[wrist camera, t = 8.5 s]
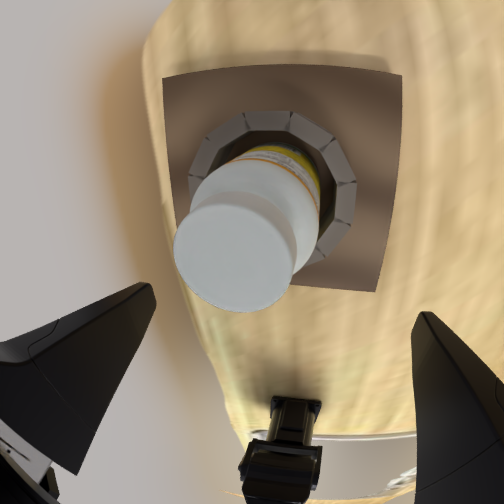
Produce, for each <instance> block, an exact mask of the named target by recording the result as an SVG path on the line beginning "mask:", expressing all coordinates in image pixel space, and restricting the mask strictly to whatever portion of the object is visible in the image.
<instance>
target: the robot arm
mask: <svg viewBox="0 0 504 504" xmlns="http://www.w3.org/2000/svg"><path fill="white" fill-rule="evenodd" d="M155 309H156V299H155V296H154V292H153V288H152V286H151V285H150V284H149V283H144V282H139V283H136V284H134V285H132V286H130V287H127V288H125V289H123V290H121V291H119V292H116V293H114V294H112V295H110V296H107V297H105V298H103V299H101V300H99V301H96V302H94V303H92V304H90V305H88V306H85V307H83V308H81V309H79V310H77V311H75V312H72V313H71V314H68V315H66V316H64V317H62V318H60V319H57V320H55V321H53V322H51V323H49V324H46V325H44V326H42V327H40V328H37V329H35V330H33V331H30V332H27V333H25V334H23V335H20V336H18V337H15V338H12V339H10V340H7V341H4V342H0V504H60V503H59V502H58V501H57V498H58V497H59V495H60V494H59V490H58V486H57V482H56V478H55V473H54V469H53V468H52V467H51V466H50V465H51V463H52V462H53V461H54V462H55V463H57V464H58V465H60V466H61V467H63V468H64V469H66V470H68V471H69V472H71V473H73V474H74V475H76V476H77V474H78V472H79V470H80V468H81V465H82V463H83V461H84V458H85V456H86V454H87V451H88V449H89V447H90V444H91V443H92V440H93V438H94V436H95V434H96V431H97V429H98V427H99V425H100V423H101V421H102V418H103V416H104V414H105V412H106V410H107V408H108V406H109V404H110V402H111V400H112V398H113V396H114V394H115V392H116V390H117V388H118V386H119V384H120V382H121V380H122V378H123V376H124V374H125V372H126V370H127V368H128V366H129V365H130V362H131V361H132V359H133V357H134V355H135V353H136V351H137V349H138V348H139V346H140V344H141V341H142V339H143V337H144V335H145V332H146V330H147V328H148V325H149V323H150V321H151V318H152V316H153V313H154V311H155ZM411 348H412V378H413V388H414V398H415V411H416V428H417V476H416V494H415V502H414V504H504V384H503V382H502V381H501V380H500V379H499V378H498V377H497V376H496V375H495V374H494V373H493V371H492V370H491V369H490V368H489V367H488V366H487V365H486V364H485V363H484V362H483V361H482V360H481V359H480V358H479V357H478V356H477V355H476V354H475V353H474V352H473V351H472V350H471V349H470V348H469V347H468V346H467V345H466V344H465V343H464V342H463V341H462V340H461V339H460V338H459V337H458V336H457V335H456V334H455V333H454V332H453V331H452V330H451V329H450V328H449V327H448V326H447V325H446V324H445V323H444V322H443V321H441V320H440V319H439V318H438V317H437V316H436V315H435V314H434V313H433V312H430V311H422V312H420V313H419V315H418V317H417V319H416V322H415V324H414V327H413V329H412V332H411ZM496 377H497V378H496ZM321 406H322V403H321V402H318V401H308V400H299V399H291V398H283V397H276V396H274V397H272V399H271V413H270V418H271V423H270V427H269V431H268V434H267V438H266V441H264V440H258V439H256V438H253V440H252V442H249V444H248V448H247V451H246V453H245V455H244V457H243V459H242V461H241V462H240V464H239V466H238V470H239V471H240V475H241V477H240V480H241V481H244V482H243V486H242V492H243V495H244V497H245V500H246V503H247V504H305V502H306V501H307V499H308V498H309V495H310V490H314V491H315V490H316V487H317V483H318V479H319V474H320V466H321V456H322V446H311V440H312V434H313V427H314V424H315V422H316V419H317V417H318V414H319V411H320V409H321Z"/></svg>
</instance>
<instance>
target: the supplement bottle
mask: <svg viewBox="0 0 504 504" xmlns="http://www.w3.org/2000/svg"><path fill="white" fill-rule="evenodd" d="M319 210H320V178H319V174H318V171H317V168H316V166H315V165H314V163H313V162H312V160H311V159H310V158H309V157H308V156H307V155H306V154H305V153H304V152H303V151H301V150H300V149H298V148H297V147H295V146H292V145H290V144H286V143H281V142H269V143H264V144H261V145H258V146H256V147H253V148H252V149H250V150H248V151H247V152H245V153H243V154H242V155H240V156H238V157H236V158H235V159H233V160H231V161H229V162H228V163H226V164H224V165H223V166H221V167H220V168H218V169H216V170H215V171H213V172H212V173H211V174H210V175H209V176H208V177H207V178H205V179H204V181H203V182H202V183H201V184H200V186H199V187H198V189H197V191H196V193H195V195H194V197H193V200H192V203H191V207H190V213H189V214H188V215H187V216H186V217H185V218H184V219H183V221H182V222H181V223H180V225H179V227H178V229H177V231H176V234H175V238H174V244H173V252H174V259H175V263H176V266H177V269H178V271H179V273H180V275H181V276H182V278H183V280H184V281H185V283H186V284H187V285H188V286H189V288H190V289H191V290H192V291H193V292H194V293H195V294H197V295H198V296H199V297H200V298H202V299H203V300H205V301H206V302H208V303H210V304H212V305H213V306H215V307H218V308H221V309H224V310H228V311H232V312H254V311H258V310H262V309H264V308H267V307H268V306H270V305H272V304H274V303H275V302H276V301H277V300H279V299H280V298H281V297H282V295H283V294H284V293H285V291H286V290H287V288H288V286H289V284H290V282H291V279H292V275H293V274H295V273H296V272H297V271H298V270H300V269H301V268H302V267H303V266H304V264H305V263H306V262H307V261H308V259H309V258H310V256H311V254H312V252H313V250H314V248H315V245H316V242H317V237H318V231H319Z"/></svg>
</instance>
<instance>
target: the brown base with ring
mask: <svg viewBox="0 0 504 504" xmlns="http://www.w3.org/2000/svg"><path fill="white" fill-rule="evenodd" d="M162 84H163V104H164V119H165V132H166V143H167V154H168V163H169V172H170V181H171V189H172V197H173V204H174V211H175V218H176V225H177V229H178V227H179V225H180V223H181V222H182V221H183V219H184V218H185V217H186V216H187V215H188V214H189V213H190V207H191V203H192V200H193V197H194V195H195V193H196V191H197V189H198V187H199V186H200V184H201V183H202V182H203V181H204V179H205V178H207V177H208V176H209V175H210V174H211V173H212V172H213V171H215V170H216V169H218V168H220V167H221V166H223V165H224V164H226V163H228V162H229V161H231V160H233V159H235V158H236V157H238V156H240V155H242V154H243V153H245V152H247V151H248V150H250V149H252V148H253V147H256V146H258V145H261V144H264V143H269V142H281V143H286V144H290V145H292V146H295V147H297V148H298V149H300V150H301V151H303V152H304V153H305V154H306V155H307V156H308V157H309V158H310V159H311V160H312V162H313V163H314V165H315V166H316V168H317V171H318V174H319V178H320V210H319V231H318V237H317V242H316V245H315V248H314V250H313V252H312V254H311V256H310V258H309V259H308V261H307V262H306V263H305V264H304V266H303V267H302V268H301V269H300V270H298V271H297V272H296V273H295V274H293V275H292V279H291V282H290V284H291V285H301V286H311V287H321V288H332V289H343V290H354V291H366V292H375V290H376V287H377V283H378V279H379V275H380V271H381V267H382V262H383V258H384V254H385V249H386V244H387V239H388V234H389V229H390V223H391V218H392V212H393V205H394V199H395V192H396V184H397V176H398V167H399V156H400V144H401V127H402V76H401V75H396V74H391V73H386V72H380V71H373V70H366V69H359V68H350V67H339V66H326V65H303V64H277V65H253V66H240V67H229V68H220V69H213V70H205V71H199V72H193V73H187V74H181V75H176V76H171V77H167V78H162Z"/></svg>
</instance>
